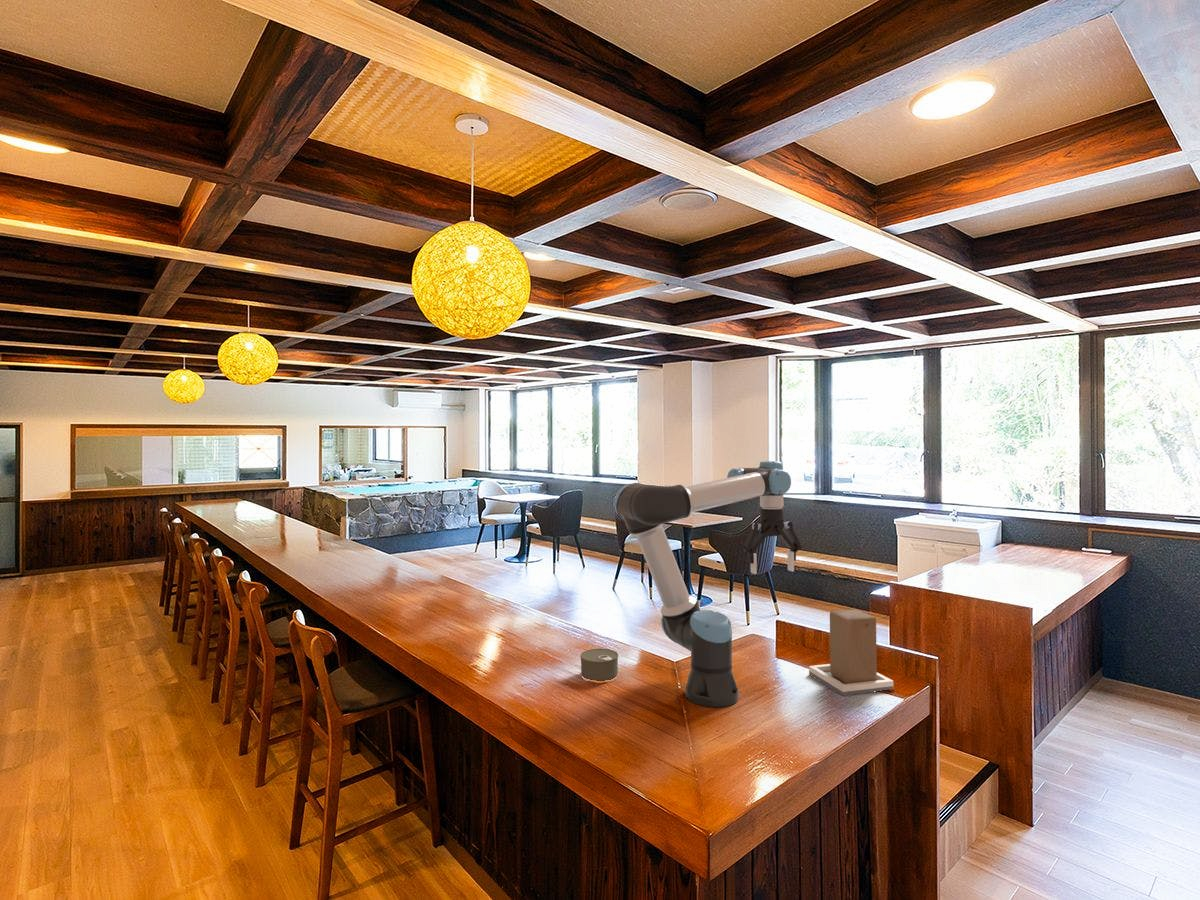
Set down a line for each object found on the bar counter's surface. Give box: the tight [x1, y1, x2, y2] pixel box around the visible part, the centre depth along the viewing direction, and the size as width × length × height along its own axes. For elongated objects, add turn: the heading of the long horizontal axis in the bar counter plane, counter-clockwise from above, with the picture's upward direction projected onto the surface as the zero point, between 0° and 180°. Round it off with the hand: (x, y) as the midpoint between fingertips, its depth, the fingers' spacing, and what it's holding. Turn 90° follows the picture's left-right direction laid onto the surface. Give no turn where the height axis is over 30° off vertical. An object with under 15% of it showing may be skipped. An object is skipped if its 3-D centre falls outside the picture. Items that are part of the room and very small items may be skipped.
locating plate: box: [808, 663, 895, 697], centre depth 181 cm, size 17×17×3 cm
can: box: [579, 648, 619, 681], centre depth 188 cm, size 12×12×7 cm
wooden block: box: [829, 609, 878, 684], centre depth 180 cm, size 10×10×20 cm
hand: (772, 572), depth 196 cm, fingers open, 13 cm apart
